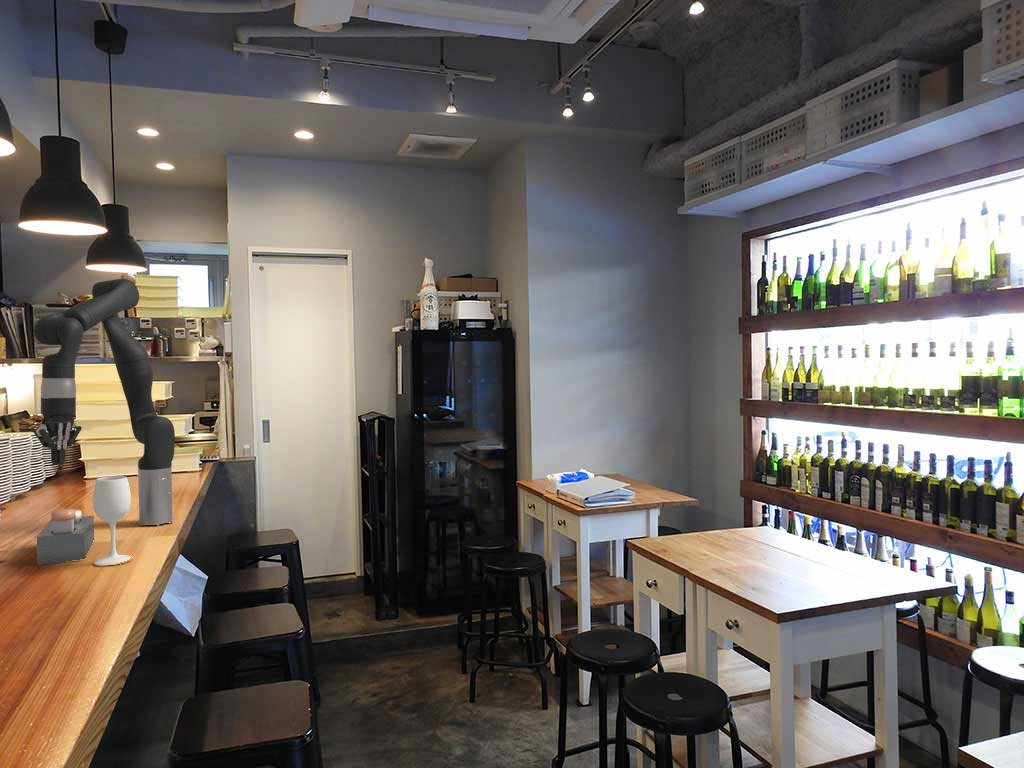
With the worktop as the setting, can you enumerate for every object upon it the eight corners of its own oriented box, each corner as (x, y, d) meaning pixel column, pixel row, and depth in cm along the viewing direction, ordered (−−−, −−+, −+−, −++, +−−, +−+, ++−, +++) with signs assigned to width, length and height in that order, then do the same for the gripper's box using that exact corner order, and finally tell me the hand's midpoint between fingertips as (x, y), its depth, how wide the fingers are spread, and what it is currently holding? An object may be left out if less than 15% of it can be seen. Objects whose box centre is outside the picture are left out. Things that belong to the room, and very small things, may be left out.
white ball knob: (83, 534, 193) (82, 509, 192) (80, 539, 188) (80, 513, 188) (60, 536, 190) (60, 511, 190) (57, 541, 186) (57, 514, 186)
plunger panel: (94, 540, 196) (93, 515, 196) (84, 560, 176) (84, 532, 176) (51, 544, 192) (51, 519, 191) (37, 565, 172) (36, 537, 172)
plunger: (77, 535, 182) (76, 508, 182) (74, 539, 177) (74, 512, 177) (53, 537, 180) (52, 510, 179) (50, 541, 175) (49, 514, 175)
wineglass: (124, 555, 181) (122, 474, 180) (139, 561, 176) (137, 477, 175) (87, 562, 174) (85, 478, 174) (101, 569, 169) (99, 482, 168)
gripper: (67, 395, 185) (66, 460, 185) (23, 396, 172) (22, 466, 172) (91, 395, 184) (91, 461, 184) (49, 397, 171) (48, 468, 171)
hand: (57, 464), depth 178 cm, fingers closed
